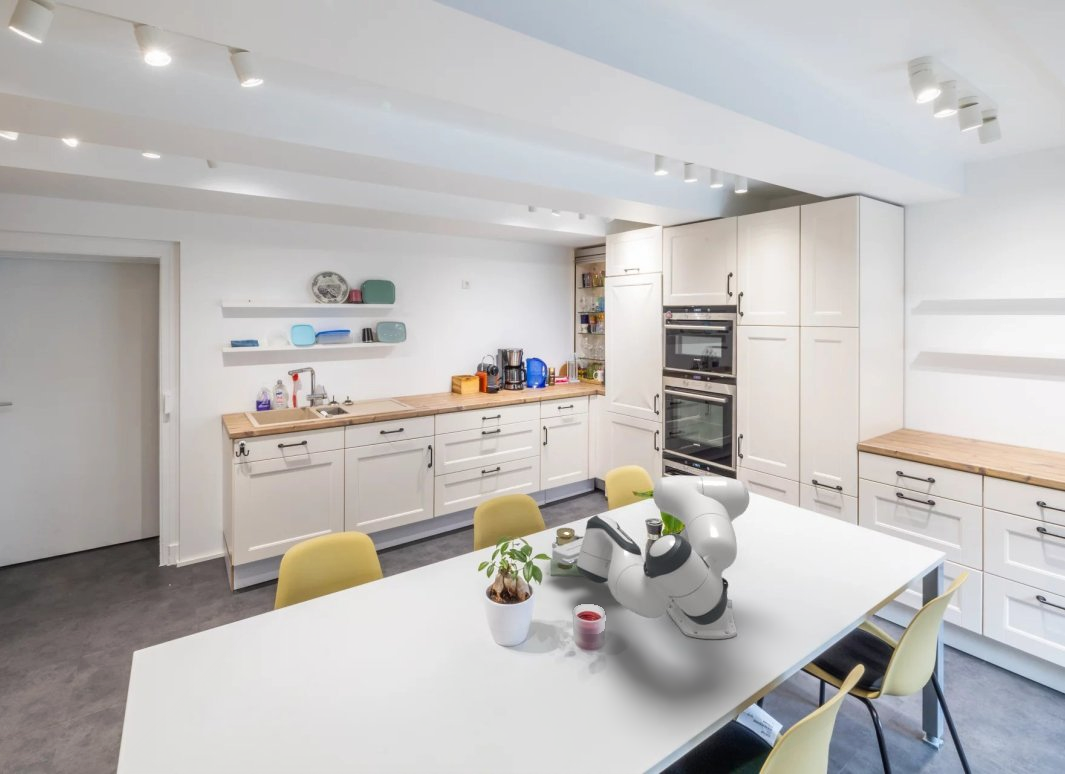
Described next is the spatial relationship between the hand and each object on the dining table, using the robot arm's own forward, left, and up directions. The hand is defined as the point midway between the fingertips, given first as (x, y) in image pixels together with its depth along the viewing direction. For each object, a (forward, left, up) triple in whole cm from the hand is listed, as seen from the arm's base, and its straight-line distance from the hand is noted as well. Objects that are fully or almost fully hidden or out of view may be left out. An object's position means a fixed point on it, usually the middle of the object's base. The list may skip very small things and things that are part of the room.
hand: (564, 541), depth 182 cm
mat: (-1, 0, -9) cm, 9 cm away
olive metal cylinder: (-1, 0, -8) cm, 8 cm away
